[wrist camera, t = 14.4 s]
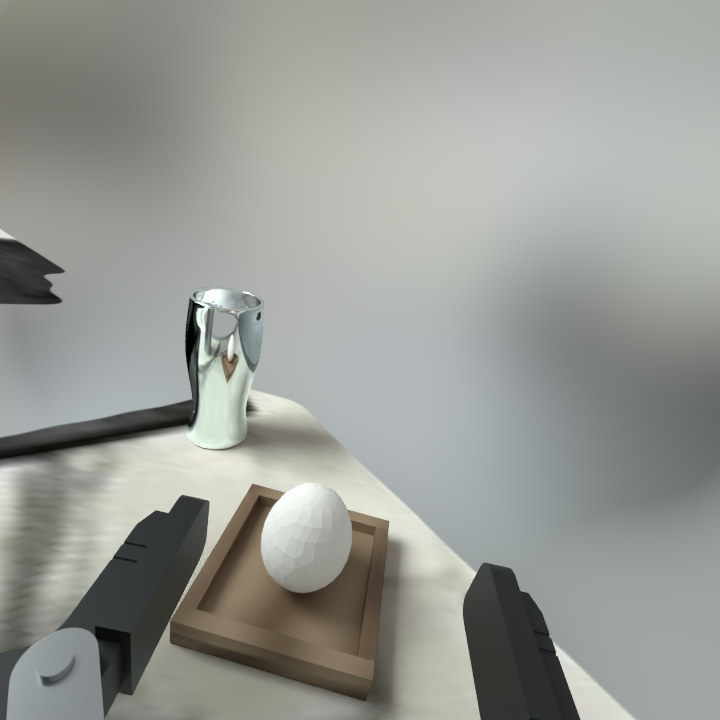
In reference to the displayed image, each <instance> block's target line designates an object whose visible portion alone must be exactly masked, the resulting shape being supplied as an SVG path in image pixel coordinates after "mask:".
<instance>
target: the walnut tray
mask: <svg viewBox="0 0 720 720" xmlns="http://www.w3.org/2000/svg"><path fill="white" fill-rule="evenodd" d="M284 494H285V493H284V492H281V491H277V490H273V489H270V488H266V487H262V486H259V485H255V484H252V485H251V487H250V489H249V491H248V492H247V494H246V496H245V497H244V499H243V501H242V502H241V504H240V506H239V507H238V509H237V511H236V512H235V514H234V516H233V517H232V519H231V521H230V522H229V524H228V526H227V527H226V529H225V531H224V532H223V534H222V536H221V537H220V539H219V541H218V542H217V544H216V546H215V547H214V549H213V551H212V552H211V554H210V556H209V557H208V559H207V561H206V562H205V564H204V566H203V567H202V569H201V571H200V572H199V574H198V576H197V577H196V579H195V581H194V582H193V584H192V586H191V587H190V589H189V591H188V592H187V594H186V596H185V597H184V599H183V601H182V602H181V604H180V606H179V607H178V609H177V611H176V612H175V614H174V616H173V617H172V619H171V621H170V643H174V644H177V645H181V646H184V647H187V648H191V649H194V650H197V651H201V652H204V653H207V654H211V655H214V656H217V657H221V658H224V659H227V660H231V661H234V662H237V663H241V664H244V665H247V666H251V667H254V668H257V669H261V670H264V671H267V672H271V673H274V674H277V675H281V676H284V677H287V678H291V679H294V680H297V681H301V682H304V683H307V684H311V685H314V686H317V687H321V688H324V689H328V690H331V691H334V692H338V693H341V694H344V695H348V696H351V697H354V698H358V699H361V700H364V701H366V698H367V695H368V693H369V690H370V687H371V685H372V682H373V675H374V665H375V655H376V646H377V636H378V626H379V616H380V606H381V597H382V587H383V577H384V567H385V557H386V548H387V538H388V528H389V521H387V520H383V519H379V518H376V517H372V516H368V515H365V514H361V513H357V512H354V511H350V510H347V511H348V514H349V517H350V520H351V523H352V544H351V549H350V553H349V556H348V560H347V562H346V564H345V566H344V567H343V569H342V571H341V573H340V574H339V575H338V576H337V577H336V578H335V579H334V580H333V581H332V582H331V583H330V584H328V585H327V586H326V587H323V588H321V589H319V590H317V591H313V592H308V593H297V592H292V591H289V590H287V589H285V588H284V587H282V586H280V585H279V584H277V583H276V582H275V581H274V579H273V578H272V577H271V576H270V575H269V573H268V571H267V570H266V568H265V566H264V562H263V558H262V554H261V536H262V531H263V527H264V523H265V521H266V518H267V516H268V514H269V512H270V511H271V509H272V507H273V506H274V505H275V504H276V503H277V501H278V500H279V499H280V498H281V497H282V496H283V495H284Z"/></svg>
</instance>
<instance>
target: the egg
mask: <svg viewBox="0 0 720 720" xmlns="http://www.w3.org/2000/svg"><path fill="white" fill-rule="evenodd" d="M351 544H352V523H351V520H350V517H349V514H348V511H347V509H346V506H345V504H344V502H343V501H342V499H341V498H340V496H339V495H338V494H337V493H336V492H335V491H333V490H332V489H331V488H329V487H327V486H325V485H322V484H317V483H306V484H301V485H299V486H297V487H295V488H293V489H291V490H290V491H288V492H287V493H285V494H284V495H283V496H282V497H281V498H280V499H279V500H278V501H277V503H276V504H275V505H274V506H273V507H272V509H271V511H270V512H269V514H268V516H267V518H266V521H265V523H264V527H263V531H262V536H261V554H262V558H263V562H264V566H265V568H266V570H267V571H268V573H269V575H270V576H271V577H272V578H273V579H274V581H275V582H276V583H277V584H279V585H280V586H282V587H284V588H285V589H287V590H289V591H292V592H297V593H308V592H313V591H317V590H319V589H321V588H323V587H326V586H327V585H328V584H330V583H331V582H332V581H333V580H334V579H335V578H336V577H337V576H338V575H339V574H340V573H341V571H342V569H343V567H344V566H345V564H346V562H347V560H348V556H349V553H350V549H351Z"/></svg>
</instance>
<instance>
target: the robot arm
mask: <svg viewBox="0 0 720 720" xmlns="http://www.w3.org/2000/svg"><path fill="white" fill-rule="evenodd" d="M208 515H209V501H208V500H203V499H199V498H194V497H190V496H185V495H182V496H180V497H179V499H178V500H177V501H176V503H175V505H174V506H173V508H172V509H171V511H170V512H169V513H165V512H161V511H154V512H153V513H152V514H150V515H149V516H147V517H146V518H145V519H143V520H142V521H141V522H139V523H138V524H137V525H136V526H135V528H134V529H133V530H132V532H131V533H130V535H129V536H128V537H127V539H126V540H125V542H124V544H123V545H121V547H120V548H119V550H118V551H117V552H116V554H115V555H114V557H113V559H112V560H110V562H109V563H108V565H107V566H106V567H105V569H104V570H103V571H102V573H101V574H100V575H99V577H98V578H97V580H96V581H95V582H94V584H93V585H92V586H91V588H90V589H89V591H88V592H87V593H86V595H85V596H84V597H83V599H82V600H81V601H80V603H79V604H78V606H77V607H76V608H75V610H74V611H73V612H72V614H71V615H70V616H69V618H68V619H67V620H66V621H65V622H64V623H63V624H62V625H61V626H60V627H59V628H58V629H57V630H56V631H55V632H53V633H50V634H48V635H47V636H45V637H43V638H41V639H40V640H39V641H37V642H36V643H34V644H33V645H31V646H29V647H26V648H23V649H20V650H16V651H11V652H5V653H0V720H104V719H105V717H106V715H107V713H108V711H109V709H110V707H111V705H112V703H113V702H114V700H115V698H116V696H117V694H118V693H122V694H127V695H132V694H133V692H134V690H135V688H136V686H137V684H138V682H139V680H140V678H141V676H142V674H143V672H144V670H145V668H146V666H147V664H148V662H149V660H150V658H151V656H152V654H153V652H154V650H155V648H156V646H157V644H158V642H159V640H160V638H161V636H162V634H163V632H164V630H165V628H166V626H167V624H168V622H169V620H170V618H171V616H172V614H173V612H174V610H175V608H176V606H177V604H178V602H179V600H180V598H181V596H182V594H183V592H184V590H185V588H186V586H187V584H188V582H189V580H190V578H191V576H192V574H193V572H194V570H195V568H196V566H197V564H198V562H199V560H200V557H201V555H202V552H203V549H204V546H205V542H206V536H207V525H208ZM463 620H464V626H465V631H466V637H467V643H468V649H469V654H470V660H471V666H472V671H473V677H474V683H475V689H476V694H477V700H478V706H479V712H480V717H481V720H580V717H579V715H578V712H577V709H576V706H575V703H574V701H573V698H572V695H571V692H570V690H569V687H568V684H567V681H566V678H565V676H564V673H563V670H562V667H561V664H560V662H559V659H558V656H556V651H555V648H554V645H553V642H552V639H551V638H550V637H549V631H548V629H547V626H546V623H545V620H544V617H543V614H542V612H541V611H540V609H539V608H538V607H537V605H536V603H535V602H534V601H533V599H532V598H531V596H530V595H529V593H526V592H521V591H520V589H519V586H518V584H517V580H516V577H515V574H514V572H513V571H512V569H510V568H506V567H502V566H498V565H493V564H489V563H483V564H482V565H481V567H480V569H479V571H478V572H477V574H476V576H475V578H474V580H473V582H472V584H471V586H470V588H469V590H468V591H467V593H466V596H465V599H464V604H463Z"/></svg>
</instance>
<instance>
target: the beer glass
mask: <svg viewBox="0 0 720 720" xmlns="http://www.w3.org/2000/svg"><path fill="white" fill-rule="evenodd" d="M263 307H264V301H263V300H262V299H261V298H260V297H258V296H257V295H255V294H252V293H249V292H246V291H242V290H238V289H232V288H224V287H205V288H198V289H195V290H193V291H192V292H190V294H189V305H188V312H187V321H186V332H185V353H186V363H187V369H188V375H189V381H190V386H191V393H192V410H191V415H190V419H189V422H188V426H187V436H188V438H189V440H190V441H191V442H192V443H194V444H195V445H197V446H200V447H202V448H206V449H226V448H230V447H233V446H235V445H237V444H239V443H241V442H242V441H243V440H244V439H245V437H246V435H247V420H246V403H247V398H248V395H249V391H250V388H251V385H252V382H253V378H254V375H255V372H256V369H257V365H258V361H259V357H260V351H261V345H262V335H263Z"/></svg>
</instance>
